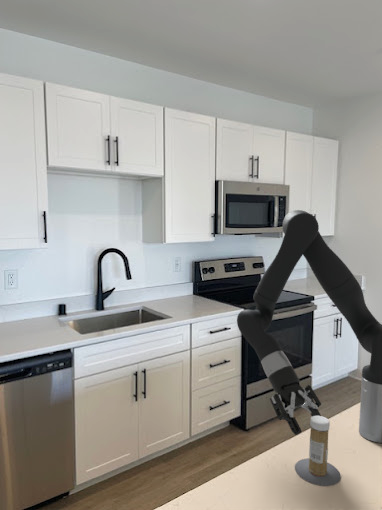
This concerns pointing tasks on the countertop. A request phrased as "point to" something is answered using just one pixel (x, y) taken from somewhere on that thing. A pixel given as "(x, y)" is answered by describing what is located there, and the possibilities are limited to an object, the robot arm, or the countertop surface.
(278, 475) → the countertop surface
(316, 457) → the sprinkles bottle
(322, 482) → the coaster
